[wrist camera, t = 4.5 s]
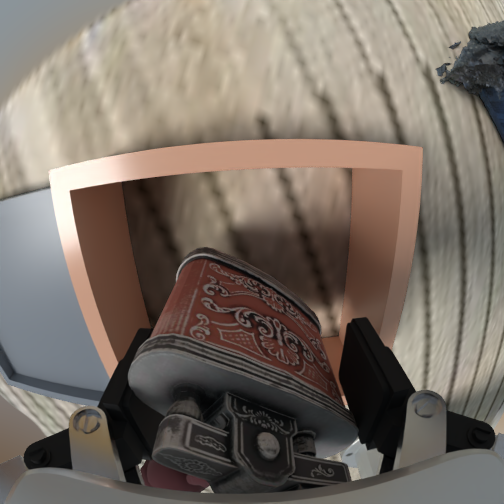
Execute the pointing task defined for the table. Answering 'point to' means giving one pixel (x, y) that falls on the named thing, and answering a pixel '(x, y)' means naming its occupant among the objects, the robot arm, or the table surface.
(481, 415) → the table surface
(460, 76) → the dark blue piece
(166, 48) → the table surface
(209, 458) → the lighter
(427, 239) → the table surface
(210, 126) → the table surface
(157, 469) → the icecream
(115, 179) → the pink open box
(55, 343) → the tray
